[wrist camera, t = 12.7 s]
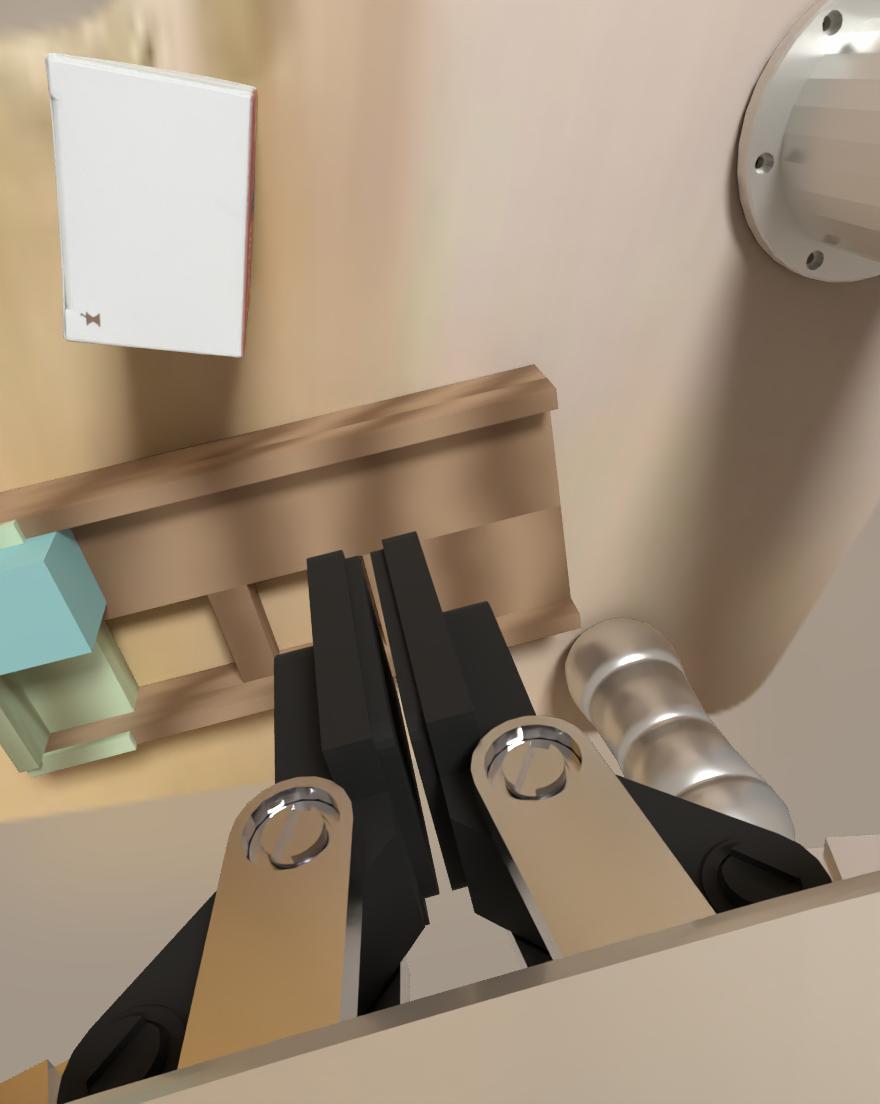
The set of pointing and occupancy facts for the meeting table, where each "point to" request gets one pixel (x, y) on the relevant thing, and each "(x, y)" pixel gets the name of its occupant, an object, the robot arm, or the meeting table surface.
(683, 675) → the plastic bottle
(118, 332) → the small box
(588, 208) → the meeting table surface
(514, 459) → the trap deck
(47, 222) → the meeting table surface
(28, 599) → the block
